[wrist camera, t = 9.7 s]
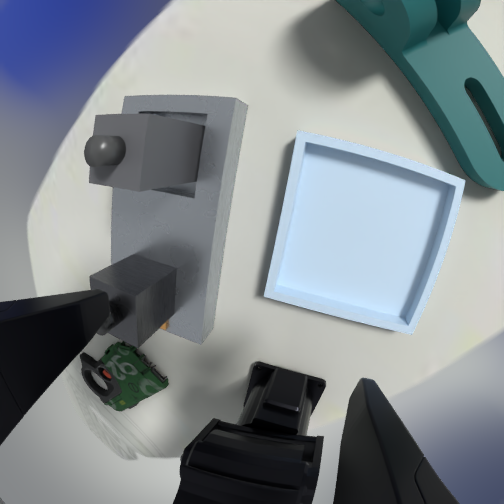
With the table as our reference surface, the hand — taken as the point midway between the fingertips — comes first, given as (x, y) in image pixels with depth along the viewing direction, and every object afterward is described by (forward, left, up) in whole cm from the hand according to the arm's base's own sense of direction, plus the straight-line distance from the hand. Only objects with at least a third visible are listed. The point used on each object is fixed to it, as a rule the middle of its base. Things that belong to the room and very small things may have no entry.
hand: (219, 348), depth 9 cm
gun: (-22, +17, -13) cm, 31 cm away
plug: (+5, +9, -12) cm, 16 cm away
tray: (+2, -5, -12) cm, 14 cm away
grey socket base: (0, +9, -12) cm, 15 cm away
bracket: (+15, -9, -13) cm, 22 cm away
